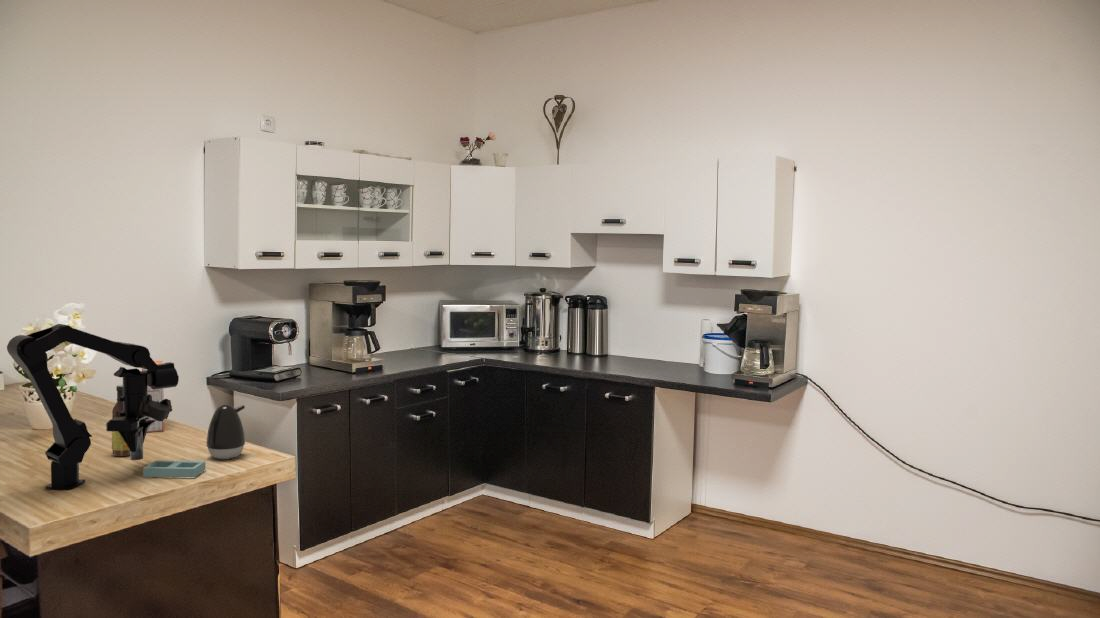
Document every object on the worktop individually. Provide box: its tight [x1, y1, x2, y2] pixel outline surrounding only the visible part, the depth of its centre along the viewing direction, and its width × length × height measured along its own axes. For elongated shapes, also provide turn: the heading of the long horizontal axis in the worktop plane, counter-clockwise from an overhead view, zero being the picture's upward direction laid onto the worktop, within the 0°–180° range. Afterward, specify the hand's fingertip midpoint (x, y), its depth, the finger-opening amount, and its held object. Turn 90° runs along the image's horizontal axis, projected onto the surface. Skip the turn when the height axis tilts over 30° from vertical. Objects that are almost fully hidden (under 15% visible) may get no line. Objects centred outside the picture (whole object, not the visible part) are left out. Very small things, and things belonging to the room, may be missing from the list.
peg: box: [129, 428, 144, 461], centre depth 209 cm, size 3×3×8 cm
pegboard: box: [142, 460, 206, 479], centre depth 208 cm, size 7×13×2 cm, turn 92°
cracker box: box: [141, 360, 165, 433], centre depth 256 cm, size 14×6×21 cm, turn 25°
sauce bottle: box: [111, 384, 130, 457], centre depth 224 cm, size 7×6×20 cm
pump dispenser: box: [205, 403, 246, 460], centre depth 224 cm, size 10×10×15 cm
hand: (136, 450), depth 209 cm, fingers closed on peg, 3 cm apart
